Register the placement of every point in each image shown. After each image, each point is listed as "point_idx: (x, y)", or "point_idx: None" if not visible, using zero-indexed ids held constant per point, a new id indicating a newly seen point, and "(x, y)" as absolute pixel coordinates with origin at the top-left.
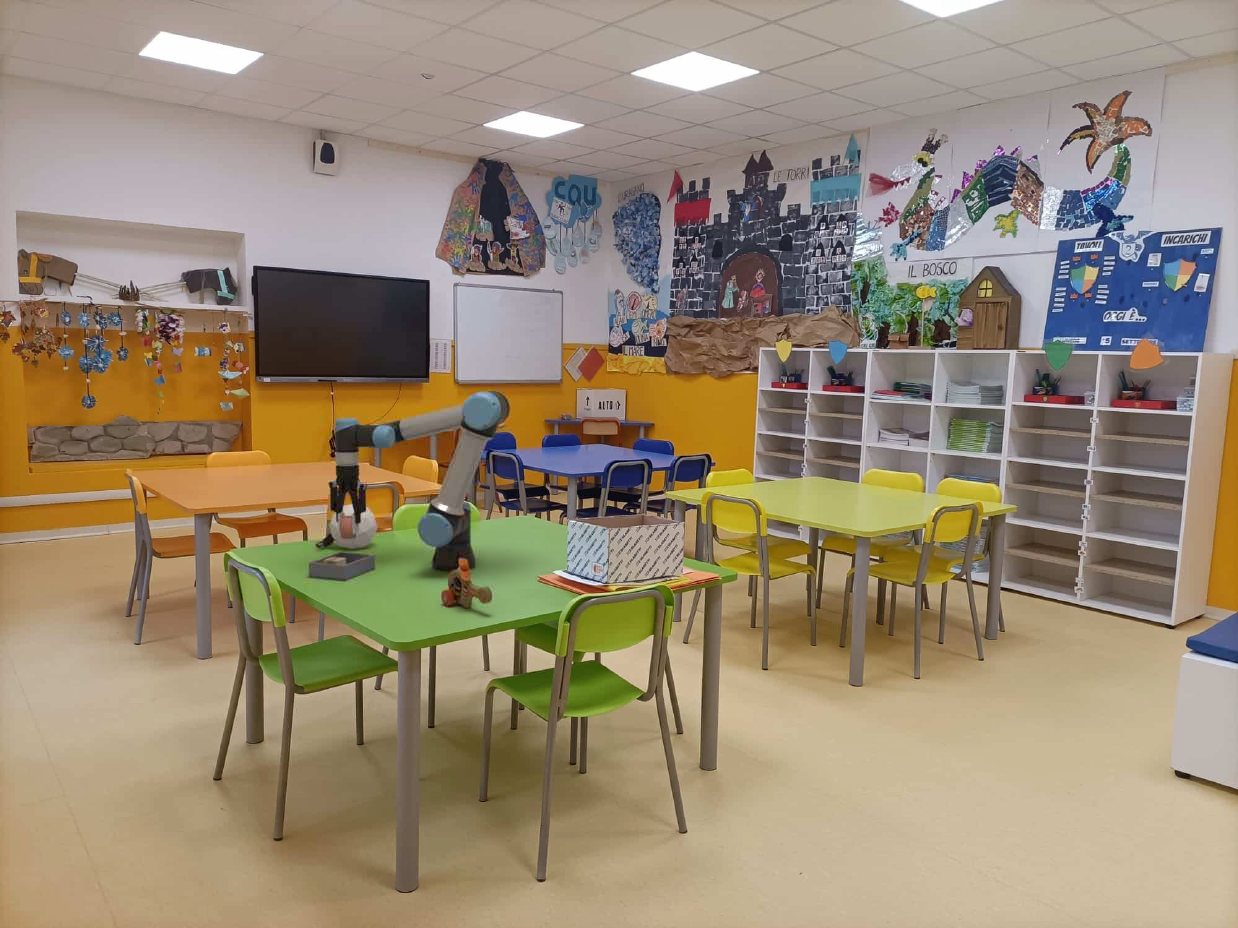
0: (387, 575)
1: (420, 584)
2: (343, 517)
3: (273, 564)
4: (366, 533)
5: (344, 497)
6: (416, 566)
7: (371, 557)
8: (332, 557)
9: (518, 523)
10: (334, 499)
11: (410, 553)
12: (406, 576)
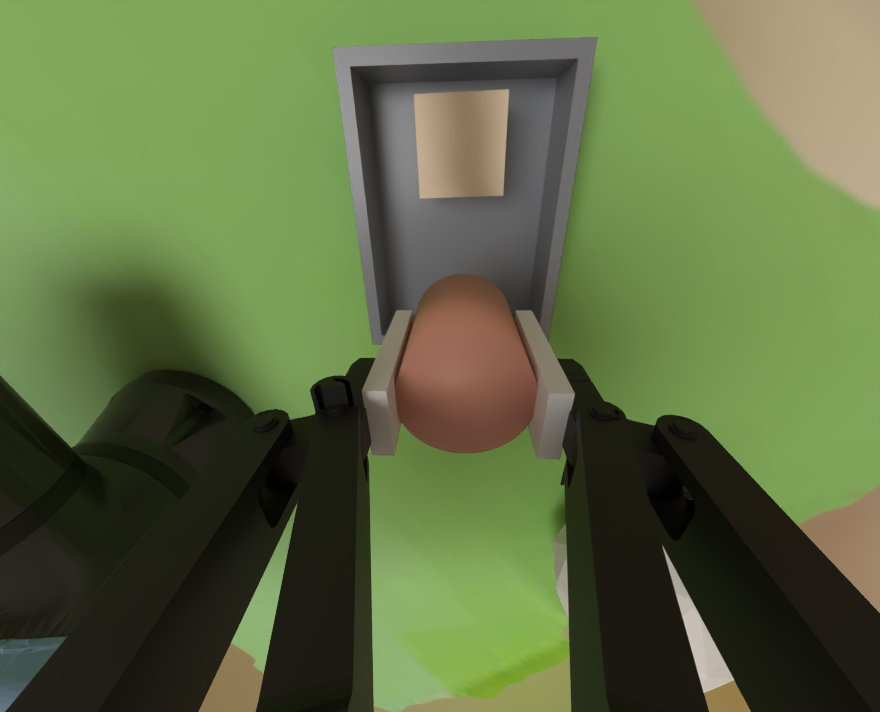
0: (275, 251)
1: (47, 166)
2: (495, 371)
3: (842, 244)
4: (565, 546)
5: (574, 652)
6: (288, 392)
7: (370, 318)
8: (496, 180)
9: (374, 690)
10: (743, 579)
11: (414, 500)
12: (204, 264)
